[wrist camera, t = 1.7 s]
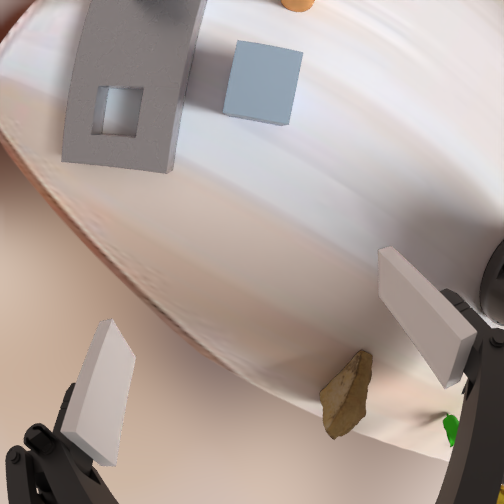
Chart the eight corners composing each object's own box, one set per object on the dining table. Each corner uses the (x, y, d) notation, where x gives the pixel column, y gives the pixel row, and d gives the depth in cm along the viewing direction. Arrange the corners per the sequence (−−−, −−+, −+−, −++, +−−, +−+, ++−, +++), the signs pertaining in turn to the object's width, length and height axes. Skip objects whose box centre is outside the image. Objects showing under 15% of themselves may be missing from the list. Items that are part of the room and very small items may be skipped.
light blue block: (241, 59, 26) (237, 40, 19) (292, 69, 26) (303, 52, 20) (229, 116, 28) (222, 112, 21) (280, 125, 28) (288, 124, 22)
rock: (363, 342, 35) (297, 387, 36) (401, 396, 30) (331, 442, 31) (369, 352, 44) (316, 388, 45) (398, 395, 39) (344, 431, 40)
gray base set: (118, -40, 20) (52, -104, 5) (220, -44, 21) (199, -137, 6) (73, 158, 29) (-32, 191, 14) (172, 170, 30) (101, 211, 15)
